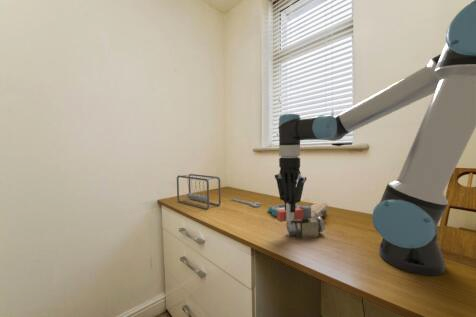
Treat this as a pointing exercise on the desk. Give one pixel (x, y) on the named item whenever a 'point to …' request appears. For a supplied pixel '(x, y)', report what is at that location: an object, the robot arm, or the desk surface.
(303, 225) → the valve body
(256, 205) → the adjustable wrench
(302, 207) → the lever
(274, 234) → the desk surface
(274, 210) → the butterfly valve
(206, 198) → the newton's cradle
